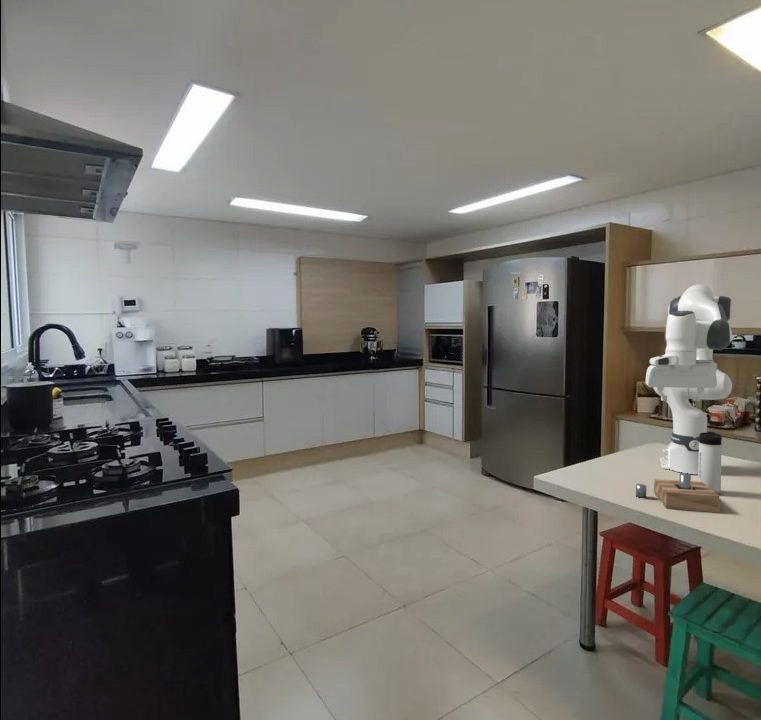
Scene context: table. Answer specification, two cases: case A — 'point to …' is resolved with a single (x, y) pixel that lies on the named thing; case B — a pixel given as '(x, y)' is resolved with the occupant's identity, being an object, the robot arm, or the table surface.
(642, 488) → the short pin
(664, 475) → the table surface
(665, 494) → the hole block
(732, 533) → the table surface
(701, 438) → the travel mug
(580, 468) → the table surface
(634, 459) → the table surface
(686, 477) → the tall pin
